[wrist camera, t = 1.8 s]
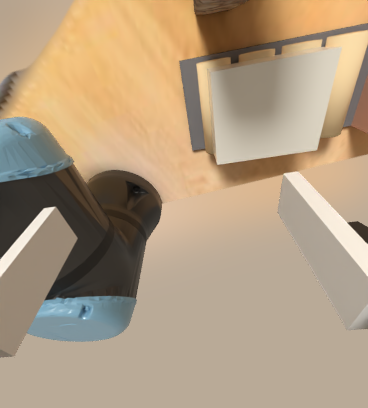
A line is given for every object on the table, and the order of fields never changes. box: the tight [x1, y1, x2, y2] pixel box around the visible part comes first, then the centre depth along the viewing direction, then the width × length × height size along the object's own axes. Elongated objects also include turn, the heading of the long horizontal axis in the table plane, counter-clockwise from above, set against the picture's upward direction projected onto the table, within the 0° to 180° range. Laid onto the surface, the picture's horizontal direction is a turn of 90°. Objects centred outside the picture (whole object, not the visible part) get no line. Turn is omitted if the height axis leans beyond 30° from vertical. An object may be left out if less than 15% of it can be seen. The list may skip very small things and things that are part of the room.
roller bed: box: [179, 23, 368, 155], centre depth 27 cm, size 27×12×5 cm, turn 99°
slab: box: [207, 47, 342, 165], centre depth 24 cm, size 12×10×4 cm
